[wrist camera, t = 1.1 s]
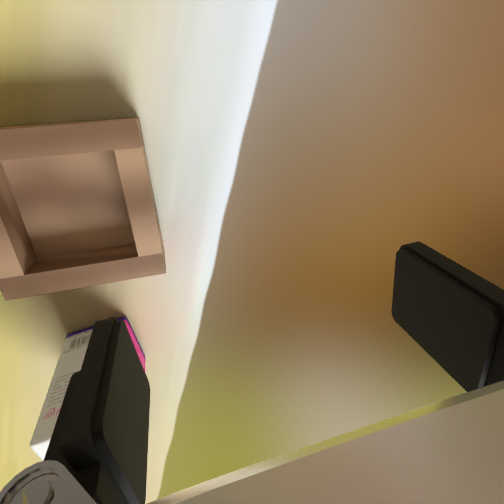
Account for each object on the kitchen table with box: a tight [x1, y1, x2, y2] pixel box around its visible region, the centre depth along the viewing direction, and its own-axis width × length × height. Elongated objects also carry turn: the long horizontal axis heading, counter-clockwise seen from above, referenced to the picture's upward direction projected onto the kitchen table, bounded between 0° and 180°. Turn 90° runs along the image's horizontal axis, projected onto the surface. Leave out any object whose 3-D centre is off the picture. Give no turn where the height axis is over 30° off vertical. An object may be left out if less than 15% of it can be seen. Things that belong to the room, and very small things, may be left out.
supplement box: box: [30, 317, 145, 461], centre depth 28 cm, size 6×6×12 cm
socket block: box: [0, 117, 166, 301], centre depth 25 cm, size 12×12×4 cm
